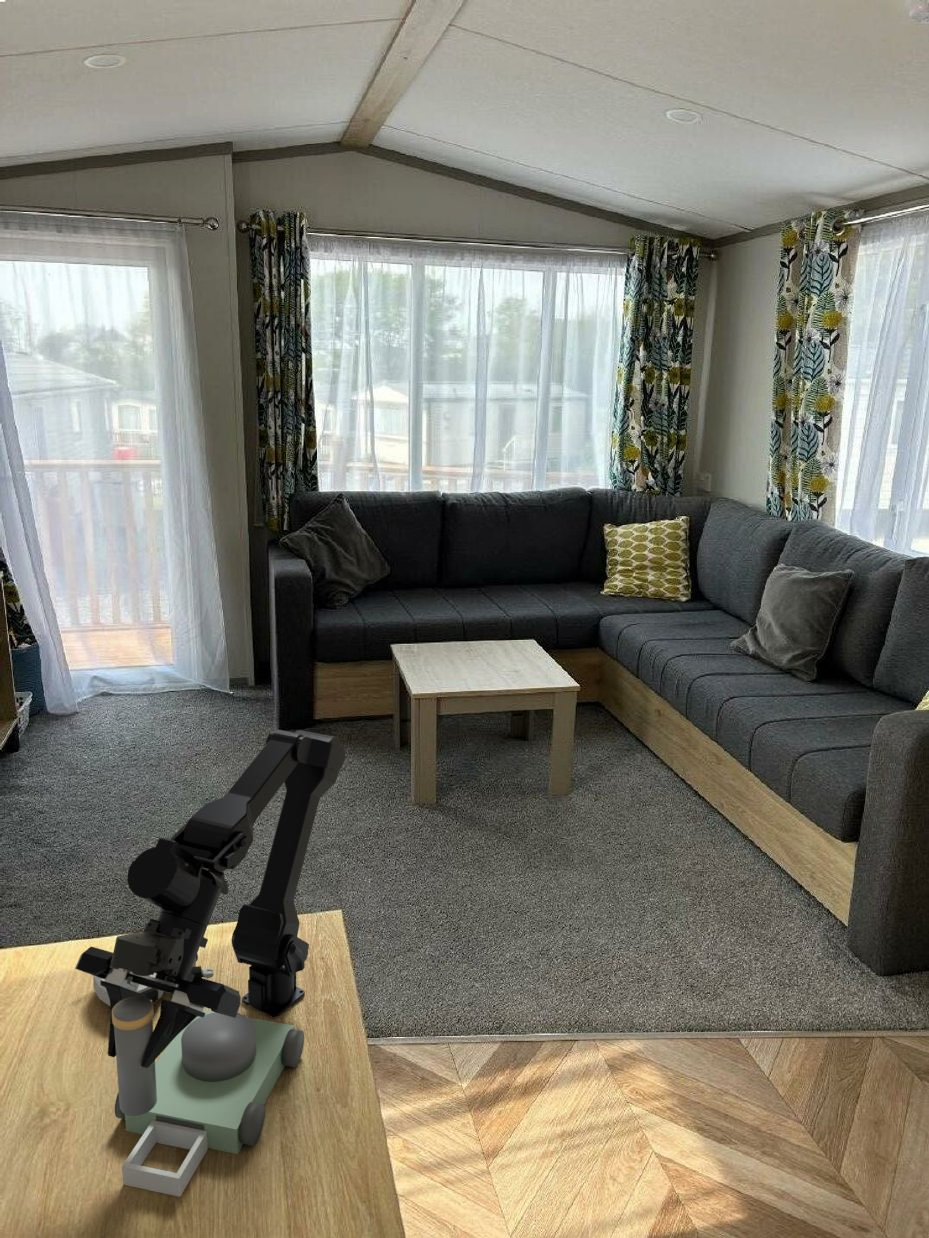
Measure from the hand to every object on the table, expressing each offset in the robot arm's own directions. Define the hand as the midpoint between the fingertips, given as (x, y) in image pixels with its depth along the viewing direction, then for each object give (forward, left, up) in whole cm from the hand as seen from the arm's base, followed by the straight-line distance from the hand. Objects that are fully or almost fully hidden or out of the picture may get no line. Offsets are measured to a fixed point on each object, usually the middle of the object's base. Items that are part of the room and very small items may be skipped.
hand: (127, 1061), depth 108 cm
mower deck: (-10, 0, -14) cm, 17 cm away
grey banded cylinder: (-1, 0, -7) cm, 7 cm away
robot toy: (-22, -22, -14) cm, 34 cm away
